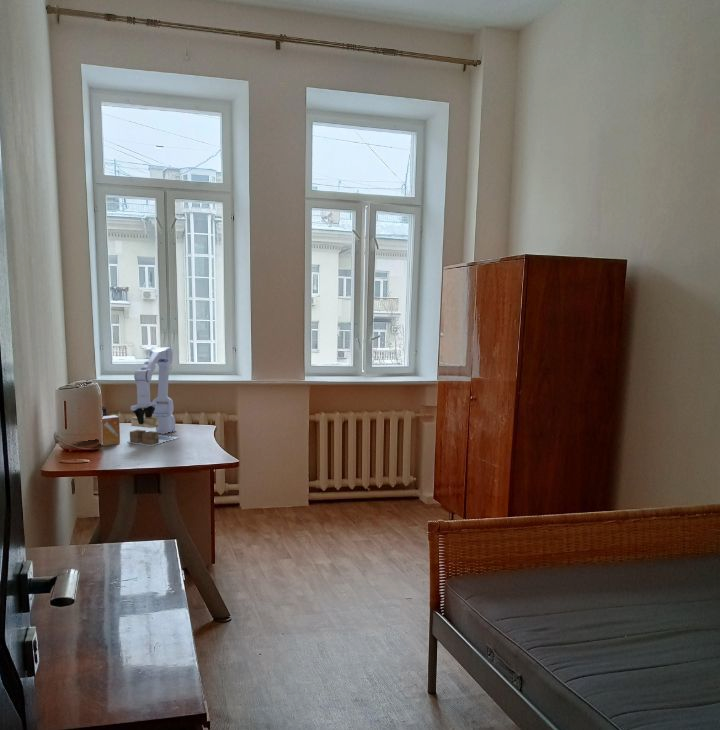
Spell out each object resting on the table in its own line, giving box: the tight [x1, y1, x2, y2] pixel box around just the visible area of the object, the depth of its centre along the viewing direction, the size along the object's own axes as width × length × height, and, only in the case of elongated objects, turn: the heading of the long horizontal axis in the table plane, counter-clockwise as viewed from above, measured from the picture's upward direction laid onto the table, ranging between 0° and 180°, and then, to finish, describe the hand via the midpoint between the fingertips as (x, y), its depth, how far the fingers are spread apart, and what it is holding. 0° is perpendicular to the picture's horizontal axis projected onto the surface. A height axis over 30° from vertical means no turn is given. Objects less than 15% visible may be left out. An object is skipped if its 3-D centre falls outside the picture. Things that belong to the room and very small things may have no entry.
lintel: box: [130, 416, 159, 429], centre depth 268 cm, size 4×13×4 cm, turn 66°
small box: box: [101, 414, 121, 447], centre depth 267 cm, size 8×6×13 cm
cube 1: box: [129, 429, 147, 443], centre depth 270 cm, size 5×5×5 cm
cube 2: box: [142, 430, 159, 445], centre depth 267 cm, size 5×5×5 cm
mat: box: [126, 434, 180, 447], centre depth 274 cm, size 18×16×1 cm
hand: (144, 423), depth 268 cm, fingers closed on lintel, 4 cm apart
